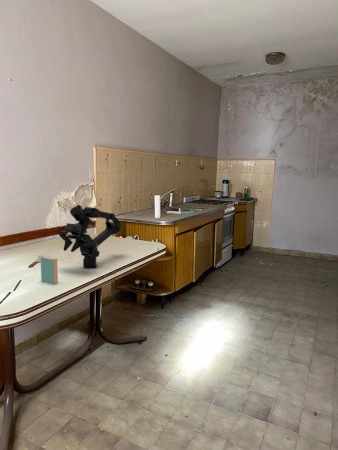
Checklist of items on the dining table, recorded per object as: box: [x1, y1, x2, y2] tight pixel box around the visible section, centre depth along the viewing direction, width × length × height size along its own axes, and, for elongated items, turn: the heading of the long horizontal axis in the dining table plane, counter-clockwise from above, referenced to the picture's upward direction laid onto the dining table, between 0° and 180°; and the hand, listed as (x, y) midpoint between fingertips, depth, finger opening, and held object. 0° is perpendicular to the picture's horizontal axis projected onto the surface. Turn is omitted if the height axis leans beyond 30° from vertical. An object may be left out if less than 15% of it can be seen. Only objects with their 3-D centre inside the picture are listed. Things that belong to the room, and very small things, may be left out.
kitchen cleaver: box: [28, 254, 53, 269], centre depth 190 cm, size 24×1×10 cm
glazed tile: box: [40, 255, 59, 285], centre depth 154 cm, size 2×8×12 cm, turn 64°
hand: (67, 251), depth 165 cm, fingers open, 4 cm apart
